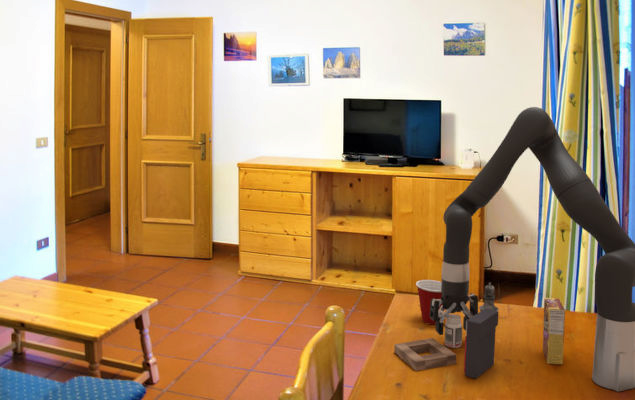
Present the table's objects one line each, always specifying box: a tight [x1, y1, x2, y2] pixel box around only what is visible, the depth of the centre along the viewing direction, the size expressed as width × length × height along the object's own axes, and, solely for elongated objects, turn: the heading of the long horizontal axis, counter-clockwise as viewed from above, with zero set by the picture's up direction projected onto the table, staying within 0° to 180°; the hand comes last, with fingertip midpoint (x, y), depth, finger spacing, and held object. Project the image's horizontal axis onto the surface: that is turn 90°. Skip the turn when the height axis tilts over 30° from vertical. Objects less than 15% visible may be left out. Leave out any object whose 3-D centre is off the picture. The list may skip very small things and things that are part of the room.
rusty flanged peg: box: [478, 282, 499, 312], centre depth 198 cm, size 6×6×12 cm
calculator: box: [463, 309, 499, 380], centre depth 162 cm, size 11×4×15 cm, turn 141°
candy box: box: [542, 297, 566, 365], centre depth 169 cm, size 9×4×15 cm, turn 168°
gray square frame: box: [393, 337, 457, 372], centre depth 171 cm, size 12×12×2 cm
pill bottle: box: [444, 313, 463, 349], centre depth 179 cm, size 5×5×8 cm
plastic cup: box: [415, 279, 442, 325], centre depth 197 cm, size 11×11×12 cm
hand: (453, 332), depth 179 cm, fingers open, 8 cm apart
